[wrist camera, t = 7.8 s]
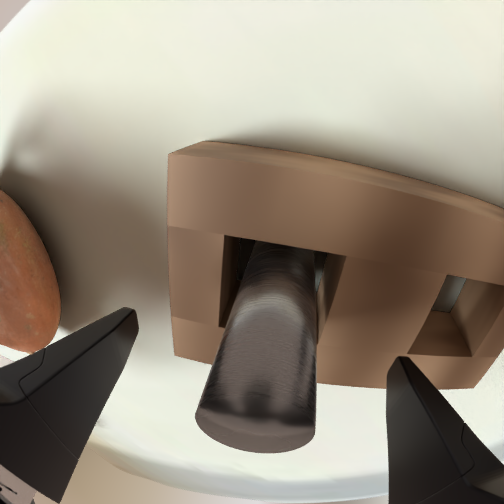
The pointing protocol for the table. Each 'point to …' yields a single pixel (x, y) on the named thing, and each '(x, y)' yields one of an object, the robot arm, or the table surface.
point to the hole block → (339, 260)
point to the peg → (266, 357)
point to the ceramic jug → (25, 283)
